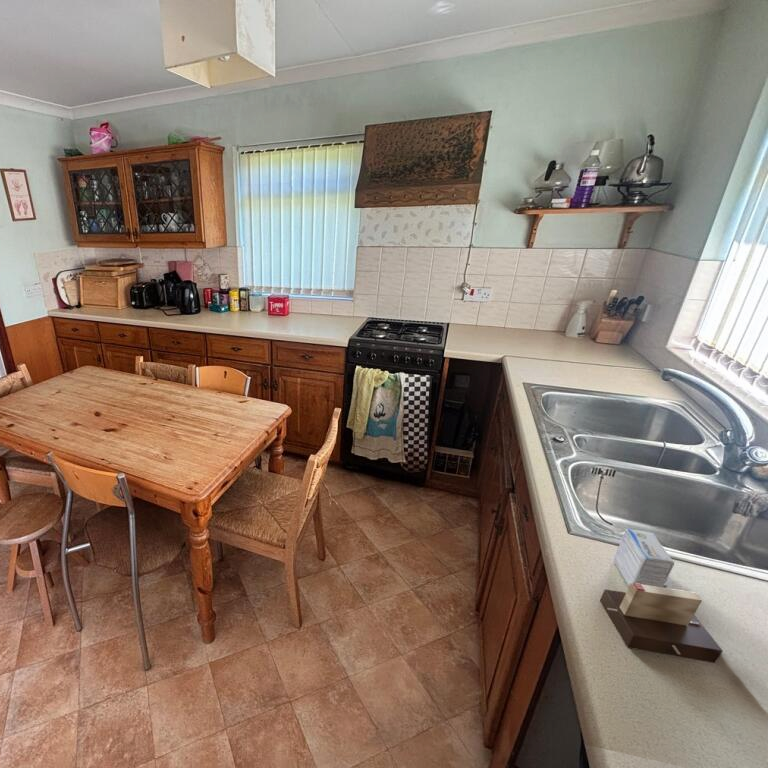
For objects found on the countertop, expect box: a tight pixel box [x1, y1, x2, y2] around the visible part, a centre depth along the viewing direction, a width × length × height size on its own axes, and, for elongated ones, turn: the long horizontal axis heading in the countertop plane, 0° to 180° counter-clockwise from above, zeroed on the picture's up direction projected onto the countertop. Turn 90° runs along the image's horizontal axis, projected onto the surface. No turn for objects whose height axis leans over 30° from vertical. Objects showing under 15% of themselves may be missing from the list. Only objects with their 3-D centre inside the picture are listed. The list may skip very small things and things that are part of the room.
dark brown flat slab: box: [599, 584, 724, 664], centre depth 71 cm, size 14×13×3 cm
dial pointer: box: [620, 583, 703, 626], centre depth 69 cm, size 9×2×6 cm, turn 77°
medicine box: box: [612, 528, 675, 588], centre depth 79 cm, size 8×4×9 cm, turn 161°
